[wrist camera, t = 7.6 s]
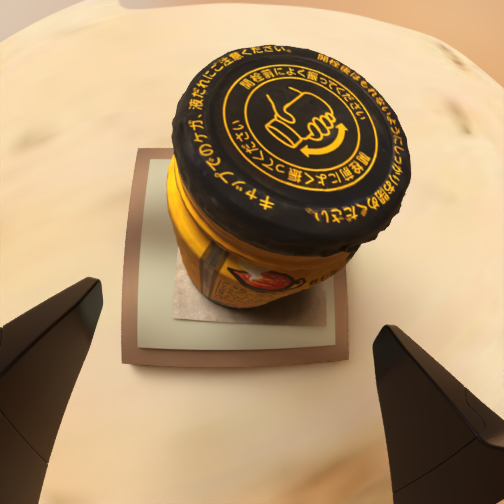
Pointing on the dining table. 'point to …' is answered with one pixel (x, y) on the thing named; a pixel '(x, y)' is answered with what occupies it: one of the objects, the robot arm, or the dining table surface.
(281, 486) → the dining table surface
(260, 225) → the condiment
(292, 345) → the plinth
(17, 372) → the robot arm
